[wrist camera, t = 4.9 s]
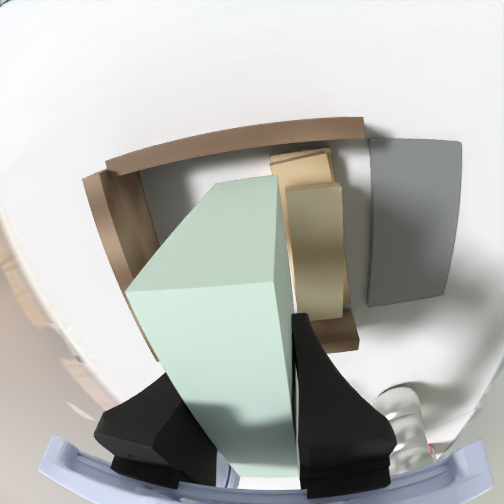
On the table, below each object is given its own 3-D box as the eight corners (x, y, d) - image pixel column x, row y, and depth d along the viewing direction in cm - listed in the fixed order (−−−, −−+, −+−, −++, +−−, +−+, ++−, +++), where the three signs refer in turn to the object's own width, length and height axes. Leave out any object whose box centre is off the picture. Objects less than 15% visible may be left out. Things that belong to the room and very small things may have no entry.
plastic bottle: (378, 382, 28) (404, 531, 11) (422, 377, 28) (458, 510, 10) (362, 408, 31) (376, 537, 14) (403, 404, 31) (426, 522, 13)
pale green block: (298, 353, 18) (299, 476, 10) (255, 356, 18) (239, 476, 10) (277, 174, 13) (273, 281, 5) (215, 183, 13) (124, 291, 5)
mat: (440, 291, 22) (442, 294, 21) (366, 303, 23) (368, 307, 22) (457, 141, 16) (461, 142, 15) (368, 138, 17) (371, 139, 16)
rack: (349, 318, 24) (360, 358, 19) (174, 329, 26) (159, 365, 22) (346, 117, 16) (368, 117, 12) (118, 156, 19) (80, 170, 14)
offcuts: (345, 297, 23) (353, 324, 20) (296, 304, 24) (298, 332, 21) (331, 145, 18) (342, 151, 14) (269, 154, 18) (267, 162, 15)
